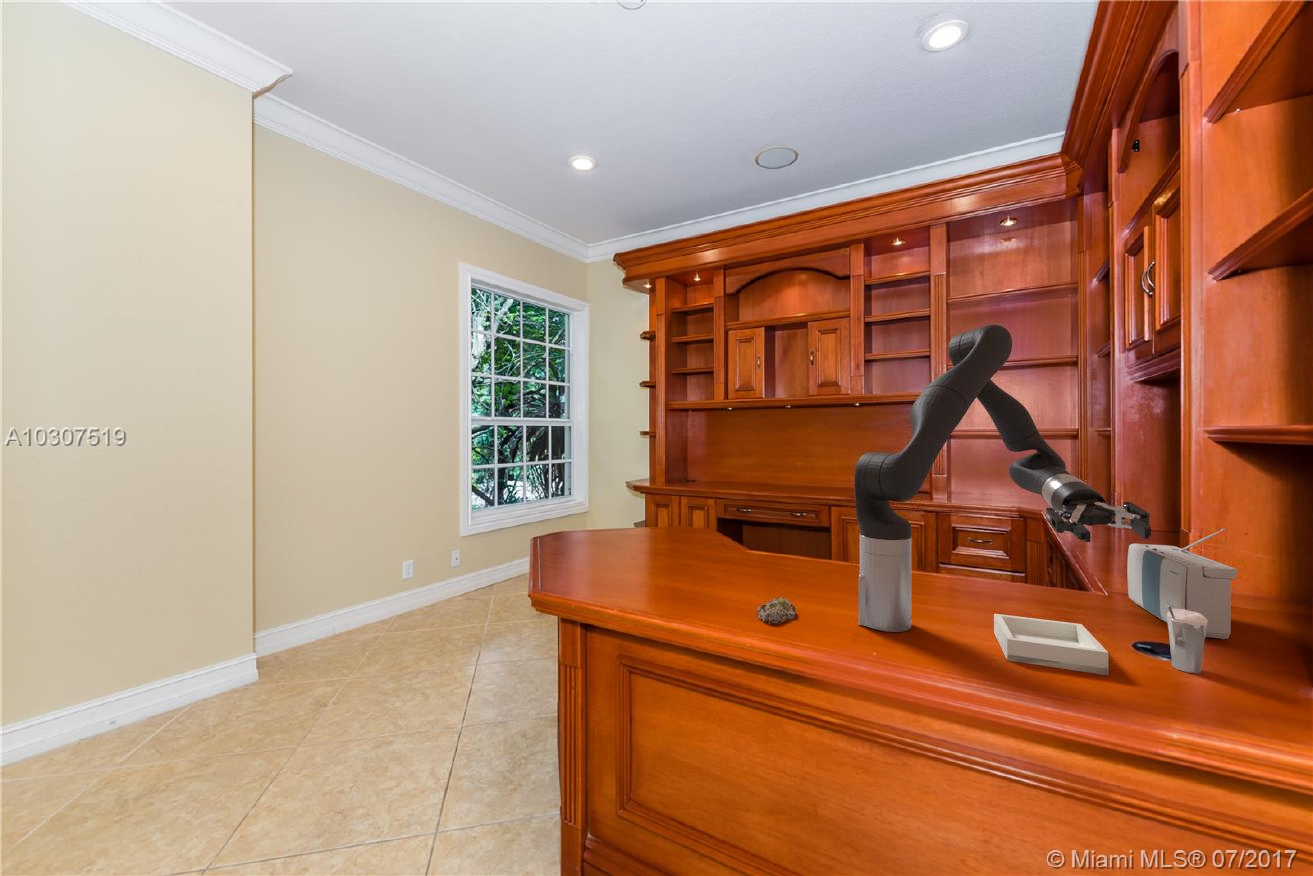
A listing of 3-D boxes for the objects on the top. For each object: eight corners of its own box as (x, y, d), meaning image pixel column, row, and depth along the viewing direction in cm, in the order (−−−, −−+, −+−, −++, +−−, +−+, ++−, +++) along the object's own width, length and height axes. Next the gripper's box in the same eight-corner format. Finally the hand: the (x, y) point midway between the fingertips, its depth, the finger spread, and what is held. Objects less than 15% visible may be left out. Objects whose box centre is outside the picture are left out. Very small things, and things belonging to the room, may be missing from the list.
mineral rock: (761, 595, 114) (797, 590, 110) (767, 615, 113) (803, 611, 110) (745, 611, 104) (783, 607, 101) (751, 633, 104) (789, 629, 100)
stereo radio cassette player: (1125, 602, 114) (1125, 510, 114) (1173, 606, 111) (1174, 512, 111) (1179, 638, 95) (1180, 527, 95) (1240, 644, 92) (1241, 530, 92)
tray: (1007, 660, 86) (1007, 639, 86) (994, 632, 98) (994, 613, 98) (1108, 675, 80) (1108, 652, 80) (1081, 644, 92) (1081, 624, 92)
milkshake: (1153, 663, 84) (1153, 601, 84) (1183, 662, 85) (1184, 600, 85) (1184, 676, 80) (1184, 611, 80) (1216, 675, 80) (1216, 610, 80)
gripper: (1030, 484, 107) (1069, 519, 92) (1114, 476, 103) (1168, 512, 88) (1031, 517, 109) (1069, 557, 94) (1113, 511, 105) (1167, 552, 90)
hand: (1117, 535), depth 91 cm, fingers open, 8 cm apart
